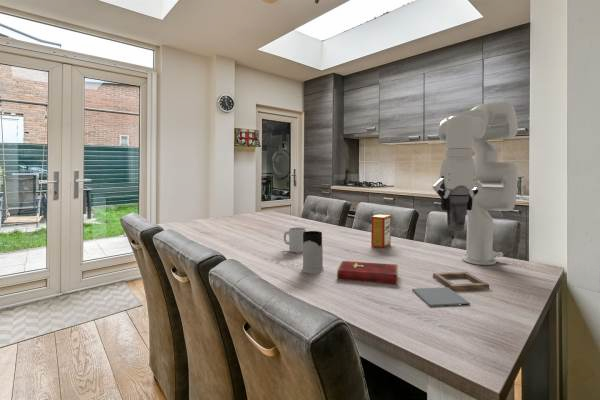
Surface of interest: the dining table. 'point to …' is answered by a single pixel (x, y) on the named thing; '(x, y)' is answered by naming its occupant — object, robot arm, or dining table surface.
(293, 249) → the mug
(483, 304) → the dining table surface
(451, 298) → the slate mat
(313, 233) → the glass holder
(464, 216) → the beverage cup
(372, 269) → the hardcover book
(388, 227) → the baking soda box
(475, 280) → the frame
